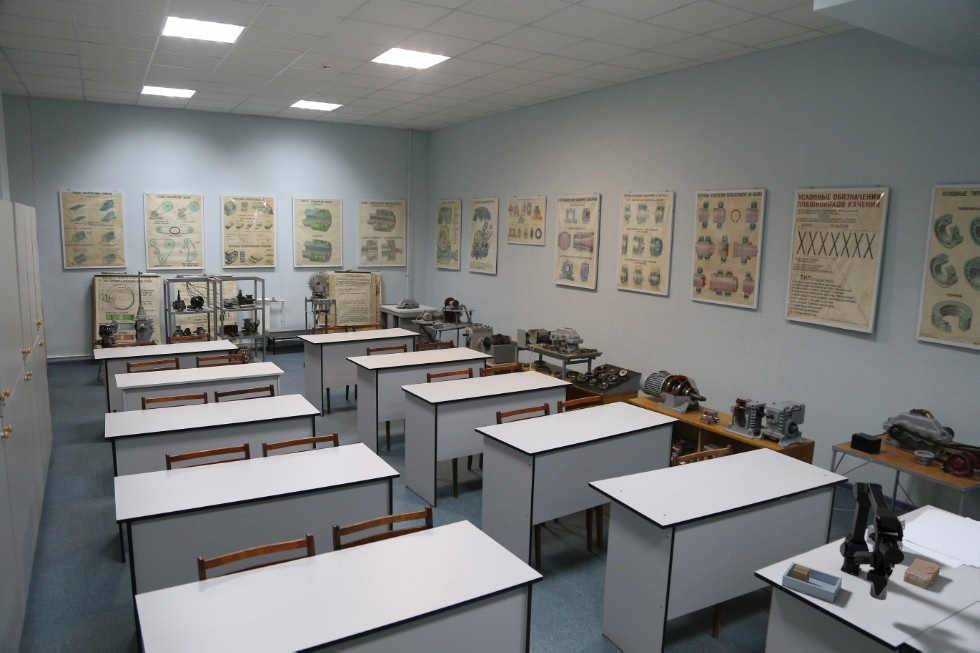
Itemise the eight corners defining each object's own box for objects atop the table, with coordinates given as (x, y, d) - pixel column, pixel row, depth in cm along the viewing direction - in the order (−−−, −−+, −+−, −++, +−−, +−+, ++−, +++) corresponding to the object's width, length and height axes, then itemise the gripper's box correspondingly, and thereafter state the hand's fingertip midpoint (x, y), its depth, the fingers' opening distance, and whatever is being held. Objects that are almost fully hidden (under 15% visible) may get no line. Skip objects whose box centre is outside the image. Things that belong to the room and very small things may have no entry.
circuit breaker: (862, 551, 271) (866, 518, 269) (884, 545, 277) (888, 512, 275) (879, 559, 265) (884, 525, 262) (901, 553, 270) (906, 519, 268)
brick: (927, 591, 242) (928, 579, 242) (902, 581, 248) (903, 570, 248) (939, 576, 253) (941, 565, 253) (915, 567, 259) (916, 557, 259)
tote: (791, 571, 254) (792, 562, 253) (841, 587, 242) (842, 578, 242) (781, 585, 243) (782, 575, 243) (832, 603, 232) (834, 593, 231)
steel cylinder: (871, 590, 227) (873, 572, 226) (887, 595, 224) (889, 577, 223) (868, 596, 223) (870, 577, 222) (885, 601, 220) (887, 583, 219)
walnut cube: (795, 576, 249) (796, 564, 248) (808, 581, 246) (810, 569, 245) (791, 581, 245) (792, 569, 244) (805, 586, 242) (806, 574, 241)
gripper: (862, 533, 234) (857, 573, 236) (851, 552, 219) (847, 594, 222) (898, 543, 226) (892, 584, 229) (889, 563, 212) (884, 606, 215)
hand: (878, 591), depth 224 cm, fingers closed on steel cylinder, 5 cm apart
